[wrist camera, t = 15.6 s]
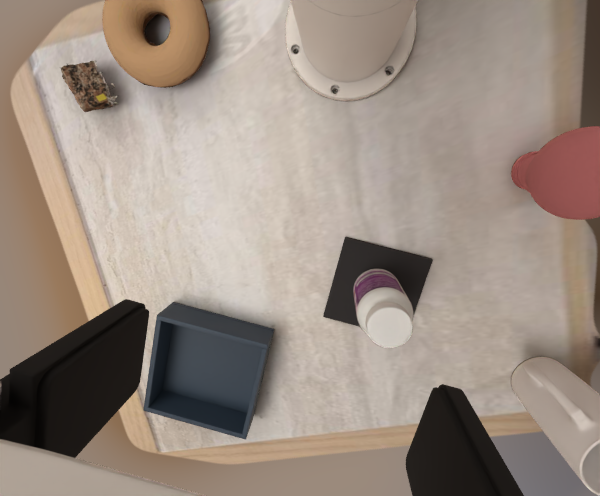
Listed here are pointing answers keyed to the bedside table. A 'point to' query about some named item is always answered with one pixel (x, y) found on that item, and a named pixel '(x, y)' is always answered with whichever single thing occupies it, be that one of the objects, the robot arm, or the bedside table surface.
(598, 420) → the mug
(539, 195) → the light bulb
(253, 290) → the bedside table surface
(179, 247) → the bedside table surface
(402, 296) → the pill bottle
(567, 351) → the bedside table surface
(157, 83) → the donut
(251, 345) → the bin
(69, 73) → the rock
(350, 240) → the mat
